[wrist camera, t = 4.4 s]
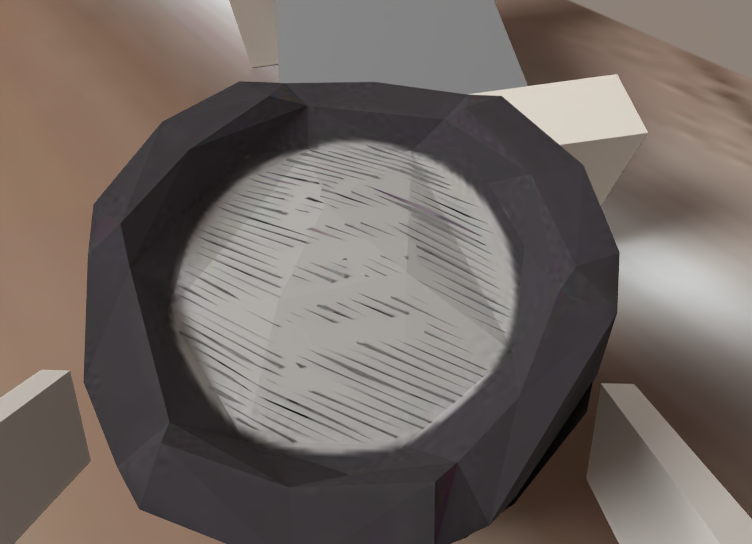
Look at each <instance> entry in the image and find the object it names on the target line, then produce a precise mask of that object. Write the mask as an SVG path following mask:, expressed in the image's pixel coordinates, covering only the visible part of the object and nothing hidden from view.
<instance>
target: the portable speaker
mask: <svg viewBox="0 0 752 544" xmlns="http://www.w3.org/2000/svg"><path fill="white" fill-rule="evenodd" d="M618 276H619V250H618V248H617V246H616V243H615V241H614V238H613V236H612V233H611V231H610V228H609V226H608V224H607V221H606V219H605V216H604V214H603V211H602V209H601V207H600V204H599V202H598V199H597V197H596V194H595V192H594V189H593V187H592V185H591V182H590V180H589V177H588V175H587V172H586V170H585V168H584V165H583V164H582V163H580V162H579V161H578V160H577V159H576V158H574V157H573V156H572V155H571V154H570V153H569V152H567V151H566V150H565V149H564V148H563V147H561V146H560V145H559V144H558V143H557V142H556V141H554V140H553V139H552V138H551V137H550V136H548V135H547V134H546V133H545V132H544V131H543V130H541V129H540V128H539V127H538V126H537V125H535V124H534V123H533V122H532V121H531V120H530V119H528V118H527V117H526V116H525V115H524V114H522V113H521V112H520V111H519V110H518V109H517V108H515V107H514V106H513V105H512V104H511V103H509V102H508V101H507V100H506V99H505V98H504V97H502V96H491V95H468V94H460V93H453V92H446V91H438V90H431V89H424V88H416V87H409V86H402V85H394V84H387V83H380V82H327V83H266V82H238V83H236V84H234V85H232V86H230V87H228V88H226V89H224V90H223V91H221V92H219V93H217V94H215V95H213V96H211V97H209V98H207V99H205V100H203V101H201V102H199V103H198V104H196V105H194V106H192V107H190V108H188V109H186V110H184V111H182V112H180V113H178V114H176V115H175V116H173V117H171V118H169V119H167V120H165V121H163V122H162V123H161V124H160V125H159V126H158V128H157V129H156V130H155V131H154V132H153V134H152V135H151V136H150V137H149V138H148V140H147V141H146V142H145V143H144V144H143V146H142V147H141V148H140V149H139V150H138V152H137V153H136V154H135V155H134V156H133V158H132V159H131V160H130V161H129V162H128V164H127V165H126V166H125V167H124V168H123V170H122V171H121V172H120V173H119V174H118V176H117V177H116V178H115V179H114V180H113V182H112V183H111V184H110V185H109V186H108V188H107V189H106V190H105V191H104V192H103V194H102V195H101V196H100V197H99V198H98V200H97V201H96V202H95V203H94V206H93V215H92V224H91V233H90V242H89V251H88V272H87V301H86V330H85V359H84V384H85V387H86V389H87V392H88V394H89V397H90V399H91V402H92V404H93V407H94V410H95V412H96V415H97V417H98V420H99V422H100V425H101V427H102V430H103V432H104V435H105V437H106V440H107V442H108V445H109V448H110V450H111V453H112V455H113V458H114V460H115V463H116V465H117V468H118V469H119V471H120V473H121V475H122V477H123V479H124V481H125V483H126V485H127V487H128V489H129V490H130V492H131V494H132V496H133V498H134V500H135V502H136V504H137V506H138V508H139V509H140V510H143V511H145V512H148V513H150V514H153V515H155V516H158V517H160V518H163V519H165V520H168V521H171V522H173V523H176V524H178V525H181V526H183V527H186V528H188V529H191V530H193V531H196V532H198V533H201V534H203V535H206V536H209V537H211V538H214V539H216V540H219V541H221V542H224V543H226V544H451V543H453V542H456V541H458V540H461V539H463V538H466V537H467V536H469V535H470V534H472V533H474V532H476V531H478V530H480V529H482V528H484V527H487V526H489V525H490V524H491V523H492V522H493V521H494V520H495V519H496V517H497V516H498V515H499V514H500V513H502V512H503V511H505V510H506V509H507V508H509V507H510V506H512V505H513V504H514V503H515V502H516V501H517V499H518V498H519V497H520V496H521V494H522V493H523V492H524V490H525V489H526V488H527V487H528V485H529V484H530V483H531V482H532V480H533V479H534V478H535V477H536V475H537V474H538V473H539V472H540V470H541V469H542V468H543V466H544V465H545V464H546V463H547V461H548V460H549V459H550V458H551V456H552V455H553V454H554V453H555V451H556V450H557V449H558V447H559V446H560V445H561V444H562V442H563V441H564V440H565V439H566V437H567V436H568V435H569V434H570V432H571V431H572V430H573V429H574V427H575V426H576V425H577V423H578V422H579V421H580V420H581V418H582V417H583V416H584V415H585V413H586V412H587V407H588V402H589V397H590V392H591V387H592V382H593V380H594V379H595V377H596V376H597V373H598V370H599V367H600V364H601V361H602V358H603V355H604V351H605V348H606V345H607V342H608V339H609V336H610V333H611V330H612V327H613V323H614V320H615V317H616V314H617V301H618Z"/></svg>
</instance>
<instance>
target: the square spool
mask: <svg viewBox="0 0 752 544" xmlns="http://www.w3.org/2000/svg"><path fill="white" fill-rule="evenodd" d="M229 1H230V4H231V7H232V10H233V13H234V16H235V19H236V22H237V24H238V27H239V30H240V33H241V36H242V39H243V42H244V45H245V48H246V51H247V54H248V57H249V60H250V63H251V66H252V67H260V66H267V65H275V64H278V66H279V83H327V82H380V83H387V84H394V85H402V86H409V87H416V88H424V89H431V90H438V91H446V92H453V93H460V94H468V95H491V96H502V97H504V98H505V99H506V100H507V101H508V102H509V103H511V104H512V105H513V106H514V107H515V108H517V109H518V110H519V111H520V112H521V113H522V114H524V115H525V116H526V117H527V118H528V119H530V120H531V121H532V122H533V123H534V124H535V125H537V126H538V127H539V128H540V129H541V130H543V131H544V132H545V133H546V134H547V135H548V136H550V137H551V138H552V139H553V140H554V141H556V142H557V143H558V144H559V145H560V146H561V147H563V148H564V149H565V150H566V151H567V152H569V153H570V154H571V155H572V156H573V157H574V158H576V159H577V160H578V161H579V162H580V163H582V164H583V165H584V168H585V170H586V172H587V175H588V177H589V180H590V182H591V185H592V187H593V189H594V192H595V194H596V197H597V199H598V202H599V204H600V207H601V205H602V204H603V202H604V201H605V199H606V197H607V196H608V194H609V193H610V191H611V190H612V188H613V187H614V185H615V183H616V182H617V180H618V179H619V177H620V176H621V174H622V172H623V171H624V169H625V168H626V166H627V165H628V163H629V162H630V160H631V158H632V157H633V155H634V154H635V152H636V151H637V149H638V148H639V146H640V144H641V143H642V141H643V140H644V138H645V137H646V135H647V134H648V132H647V130H646V128H645V126H644V124H643V122H642V121H641V119H640V117H639V115H638V113H637V111H636V109H635V107H634V105H633V104H632V102H631V100H630V98H629V96H628V94H627V92H626V90H625V88H624V87H623V85H622V83H621V81H620V79H619V77H618V75H617V74H614V75H607V76H599V77H592V78H584V79H577V80H570V81H562V82H555V83H548V84H540V85H533V86H528V85H527V82H526V80H525V77H524V75H523V72H522V70H521V67H520V65H519V62H518V60H517V57H516V55H515V52H514V50H513V47H512V45H511V42H510V39H509V37H508V34H507V32H506V29H505V27H504V24H503V22H502V19H501V17H500V14H499V12H498V9H497V7H496V2H497V0H229Z"/></svg>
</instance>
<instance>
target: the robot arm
mask: <svg viewBox="0 0 752 544" xmlns="http://www.w3.org/2000/svg"><path fill="white" fill-rule="evenodd" d="M90 461H91V460H90V455H89V451H88V447H87V442H86V438H85V434H84V429H83V425H82V421H81V416H80V412H79V407H78V403H77V399H76V394H75V390H74V386H73V381H72V377H71V373H70V371H66V370H40V371H39V372H37V373H36V374H34V375H33V376H31V377H30V378H29V379H27V380H26V381H24V382H23V383H21V384H20V385H18V386H17V387H15V388H14V389H12V390H11V391H9V392H8V393H6V394H5V395H4V396H2V397H1V398H0V544H14V543H15V542H16V541H17V540H18V539H19V538H20V536H21V535H22V534H23V533H24V532H25V531H26V530H27V529H28V528H29V527H30V526H31V525H32V524H33V523H34V521H35V520H36V519H37V518H38V517H39V516H40V515H41V514H42V513H43V512H44V511H45V510H46V509H47V507H48V506H49V505H50V504H51V503H52V502H53V501H54V500H55V499H56V498H57V497H58V496H59V495H60V493H61V492H62V491H63V490H64V489H65V488H66V487H67V486H68V485H69V484H70V483H71V482H72V481H73V480H74V478H75V477H76V476H77V475H78V474H79V473H80V472H81V471H82V470H83V469H84V468H85V467H86V466H87V464H88V463H89V462H90ZM586 479H587V481H588V483H589V485H590V487H591V489H592V491H593V493H594V495H595V497H596V499H597V501H598V503H599V505H600V507H601V509H602V511H603V513H604V515H605V517H606V519H607V521H608V523H609V525H610V527H611V529H612V531H613V533H614V535H615V537H616V539H617V541H618V543H619V544H752V519H751V518H750V517H749V515H748V514H747V513H746V512H745V511H744V510H743V509H742V507H741V506H740V505H739V504H738V503H737V502H736V500H735V499H734V498H733V497H732V496H731V495H730V494H729V492H728V491H727V490H726V489H725V488H724V487H723V486H722V484H721V483H720V482H719V481H718V480H717V479H716V478H715V476H714V475H713V474H712V473H711V472H710V471H709V469H708V468H707V467H706V466H705V465H704V464H703V463H702V461H701V460H700V459H699V458H698V457H697V456H696V455H695V453H694V452H693V451H692V450H691V449H690V448H689V447H688V445H687V444H686V443H685V442H684V441H683V440H682V438H681V437H680V436H679V435H678V434H677V433H676V432H675V430H674V429H673V428H672V427H671V426H670V425H669V424H668V422H667V421H666V420H665V419H664V418H663V417H662V415H661V414H660V413H659V412H658V411H657V410H656V409H655V407H654V406H653V405H652V404H651V403H650V402H649V401H648V399H647V398H646V397H645V396H644V395H643V394H642V393H641V391H640V390H639V389H638V388H637V387H636V386H635V384H612V383H601V385H600V392H599V398H598V405H597V411H596V418H595V424H594V431H593V437H592V444H591V450H590V457H589V463H588V470H587V476H586Z"/></svg>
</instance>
